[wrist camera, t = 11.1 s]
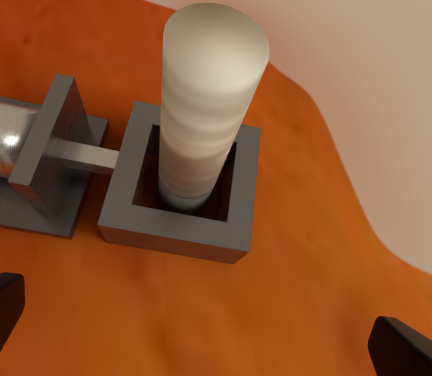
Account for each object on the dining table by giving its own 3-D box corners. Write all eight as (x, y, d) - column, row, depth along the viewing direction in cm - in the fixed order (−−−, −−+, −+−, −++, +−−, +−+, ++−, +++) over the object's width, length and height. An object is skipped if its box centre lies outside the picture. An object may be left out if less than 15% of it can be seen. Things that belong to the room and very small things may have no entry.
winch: (233, 267, 22) (259, 247, 17) (-113, 207, 20) (-214, 162, 14) (245, 154, 26) (270, 108, 20) (-44, 93, 23) (-104, 22, 18)
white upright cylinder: (187, 229, 22) (231, 104, 10) (147, 198, 23) (139, 39, 10) (217, 192, 24) (288, 42, 11) (179, 164, 24) (206, -12, 12)
